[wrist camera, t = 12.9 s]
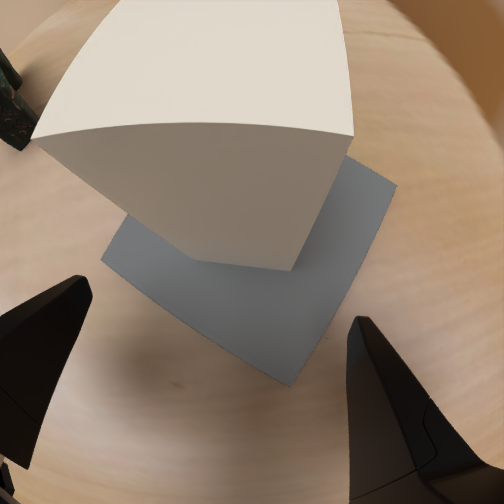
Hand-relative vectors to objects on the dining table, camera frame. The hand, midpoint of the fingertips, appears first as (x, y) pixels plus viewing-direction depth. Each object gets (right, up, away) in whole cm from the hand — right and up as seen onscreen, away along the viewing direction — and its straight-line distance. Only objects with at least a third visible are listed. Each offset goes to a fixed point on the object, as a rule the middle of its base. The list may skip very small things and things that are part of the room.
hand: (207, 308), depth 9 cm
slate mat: (+1, +4, +9) cm, 9 cm away
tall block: (+1, +4, +8) cm, 9 cm away
